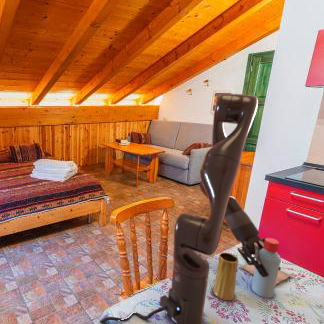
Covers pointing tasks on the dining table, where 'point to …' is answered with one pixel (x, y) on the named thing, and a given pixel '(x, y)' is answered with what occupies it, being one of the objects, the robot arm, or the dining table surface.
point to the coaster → (280, 276)
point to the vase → (226, 276)
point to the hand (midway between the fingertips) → (271, 273)
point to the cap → (271, 245)
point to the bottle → (271, 264)
